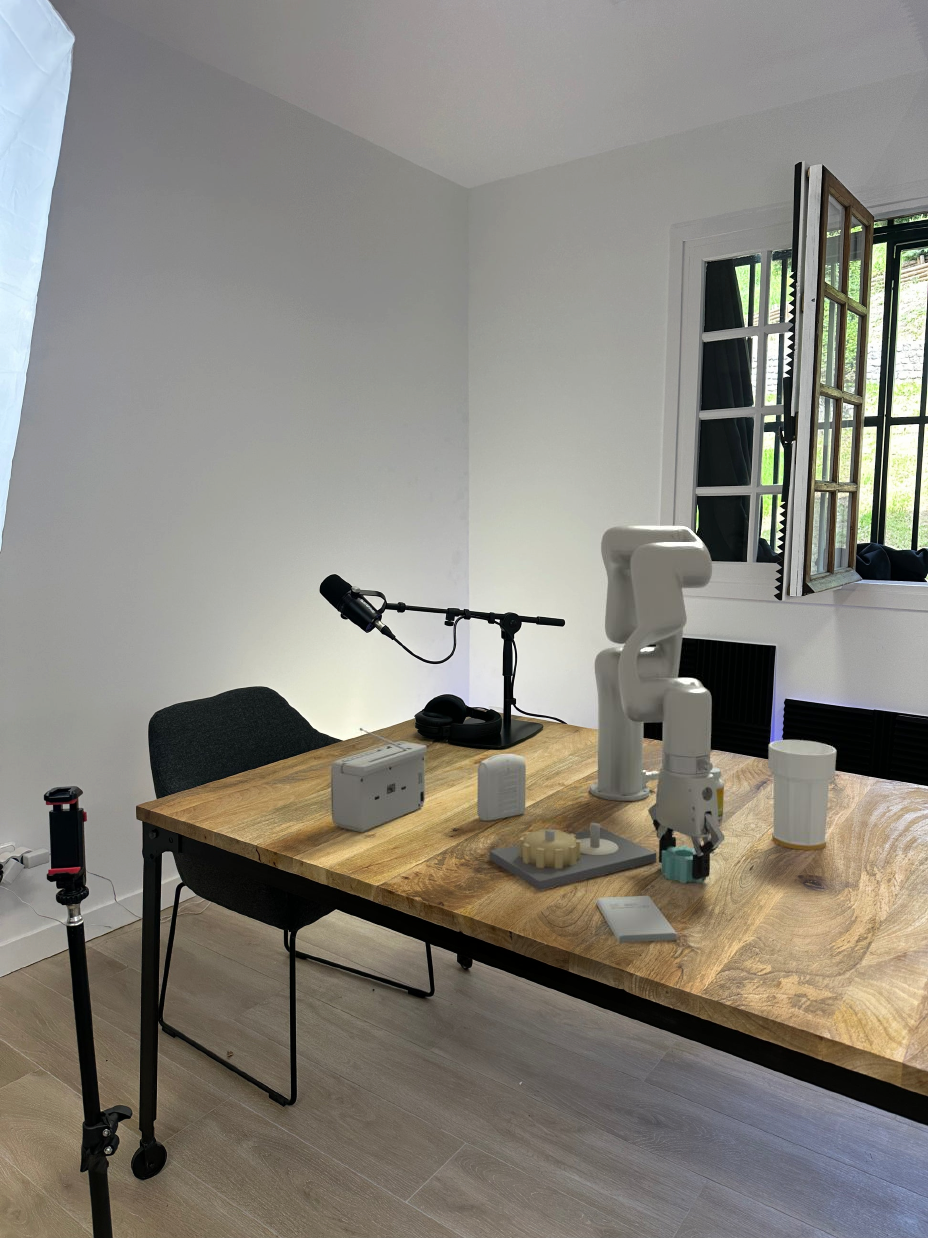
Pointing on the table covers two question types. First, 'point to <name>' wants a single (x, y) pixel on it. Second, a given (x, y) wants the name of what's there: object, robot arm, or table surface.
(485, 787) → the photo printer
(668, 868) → the teal gear
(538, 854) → the gear board
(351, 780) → the stereo radio cassette player
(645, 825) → the table surface
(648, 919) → the external hard drive
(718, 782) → the supplement bottle
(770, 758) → the cup
